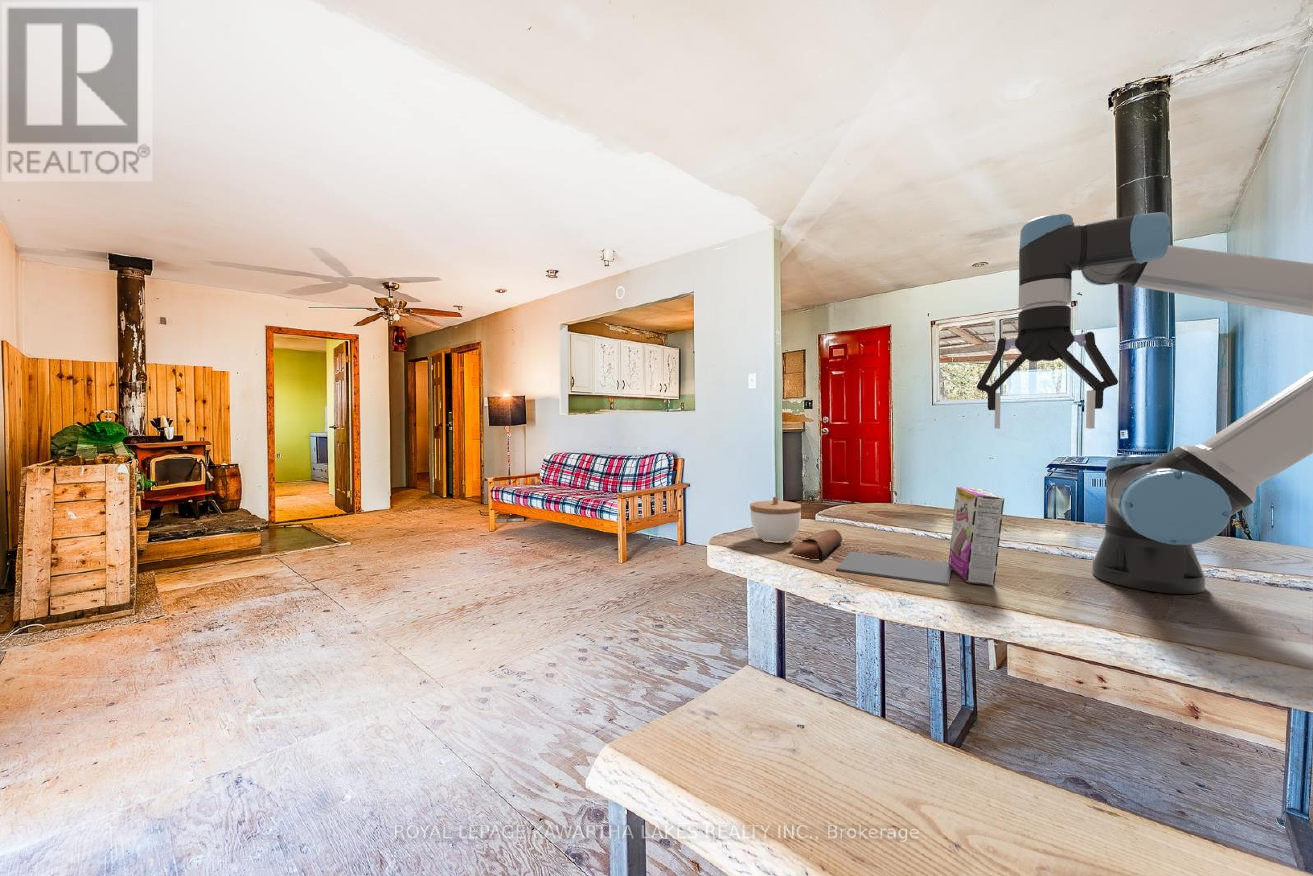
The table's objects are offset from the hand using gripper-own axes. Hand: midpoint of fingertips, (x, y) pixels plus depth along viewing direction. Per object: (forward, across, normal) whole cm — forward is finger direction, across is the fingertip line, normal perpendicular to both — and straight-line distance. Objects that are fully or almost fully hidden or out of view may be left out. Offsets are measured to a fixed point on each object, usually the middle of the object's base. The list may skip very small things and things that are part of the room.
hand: (1041, 428), depth 93 cm
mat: (+29, +24, 0) cm, 37 cm away
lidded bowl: (+29, +53, -12) cm, 61 cm away
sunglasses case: (+29, +42, -7) cm, 51 cm away
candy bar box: (+29, +11, 0) cm, 31 cm away
